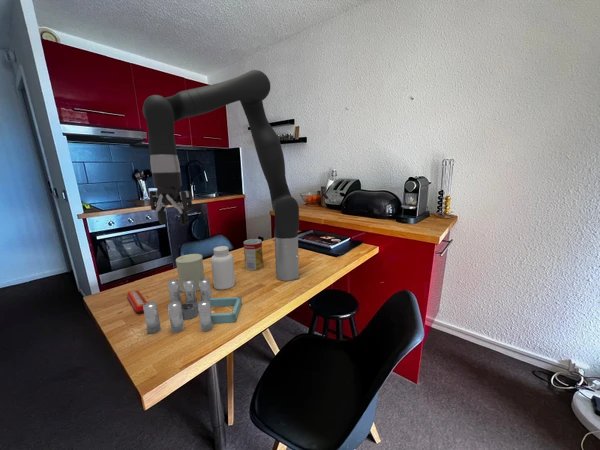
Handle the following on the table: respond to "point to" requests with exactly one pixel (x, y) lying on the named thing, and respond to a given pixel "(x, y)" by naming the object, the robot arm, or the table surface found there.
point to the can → (190, 269)
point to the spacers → (175, 306)
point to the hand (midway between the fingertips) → (173, 224)
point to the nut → (189, 310)
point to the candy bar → (136, 300)
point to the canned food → (253, 254)
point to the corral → (226, 316)
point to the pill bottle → (222, 268)
